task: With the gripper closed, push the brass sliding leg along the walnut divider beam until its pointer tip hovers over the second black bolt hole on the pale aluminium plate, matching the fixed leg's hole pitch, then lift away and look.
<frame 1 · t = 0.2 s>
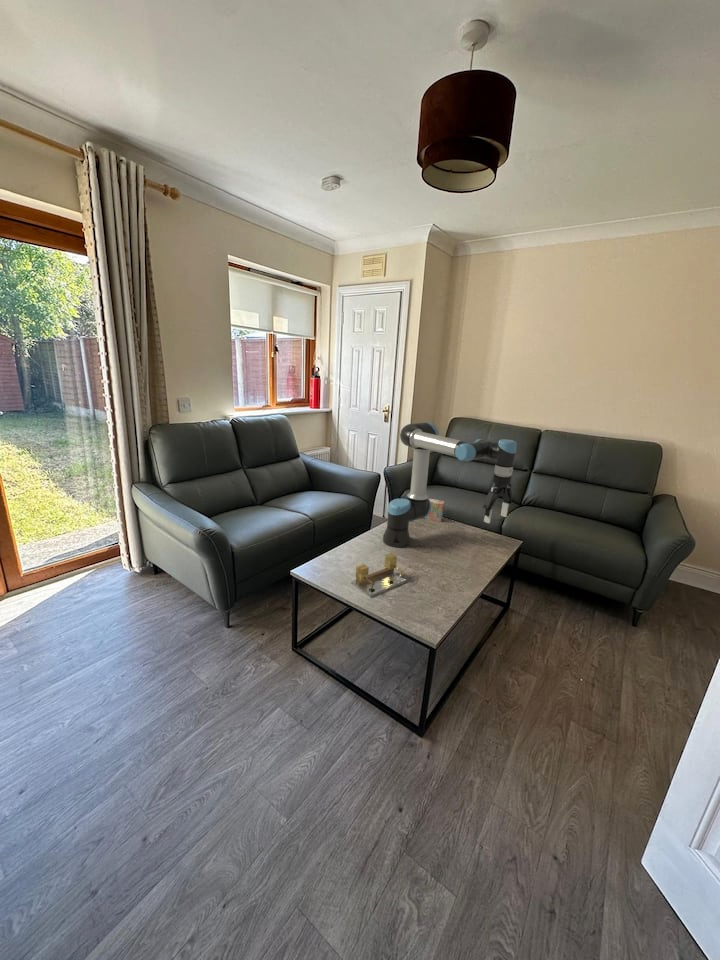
hand: (495, 519, 178), 28 cm above the table, fingers open, 13 cm apart
slider leg: (395, 565, 177), point 5 cm above the table, slide at 6.0 cm
hole plate: (378, 582, 173), on the table
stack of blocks: (425, 518, 250), on the table
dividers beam: (375, 579, 176), resting on hole plate
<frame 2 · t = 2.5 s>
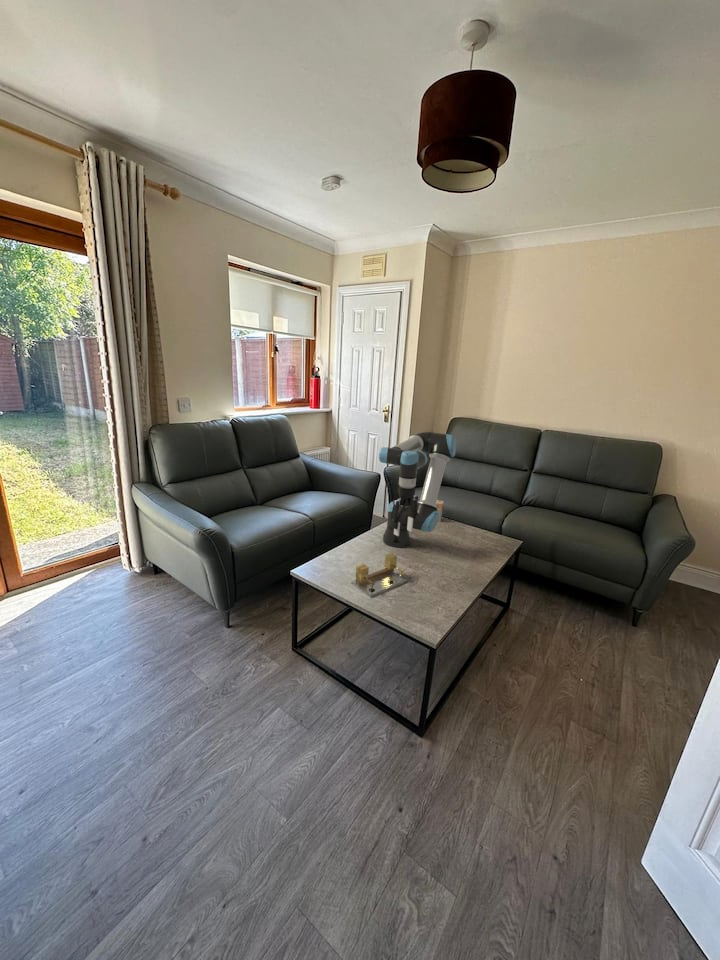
hand: (403, 532, 179), 19 cm above the table, fingers open, 8 cm apart
nothing on the table moved.
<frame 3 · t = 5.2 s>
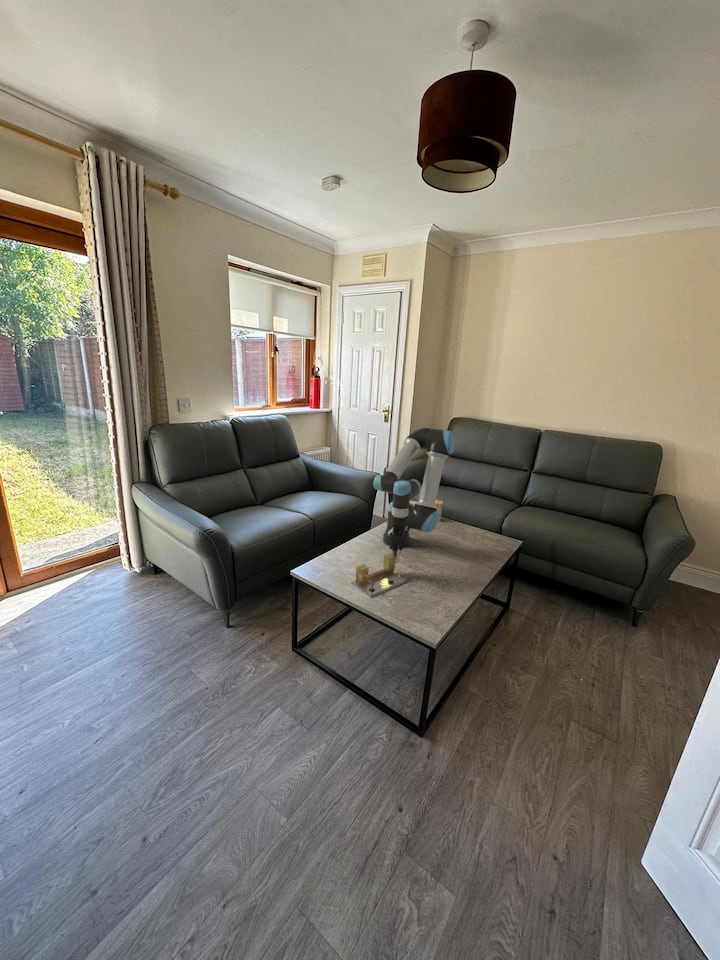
hand: (395, 562, 182), 5 cm above the table, fingers closed
slider leg: (393, 566, 177), point 5 cm above the table, slide at 5.2 cm, touching gripper
everything else where it was.
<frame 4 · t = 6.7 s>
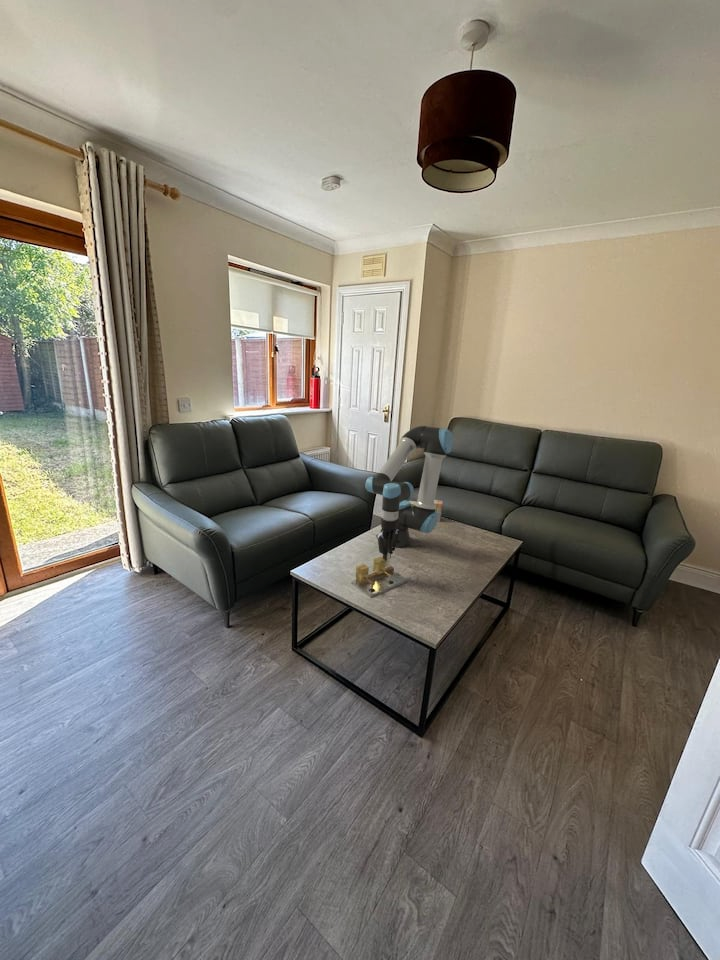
hand: (386, 565, 178), 5 cm above the table, fingers closed
slider leg: (383, 570, 173), point 5 cm above the table, slide at -1.0 cm, touching gripper
everything else where it was.
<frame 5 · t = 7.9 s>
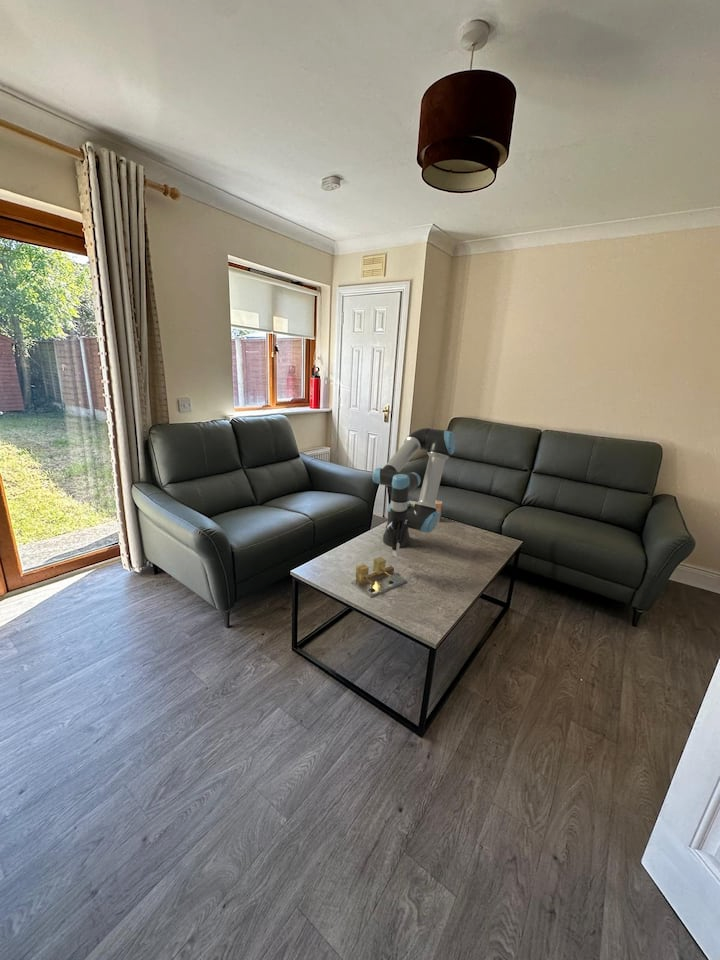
hand: (395, 555, 181), 8 cm above the table, fingers closed
slider leg: (383, 570, 173), point 5 cm above the table, slide at -1.0 cm
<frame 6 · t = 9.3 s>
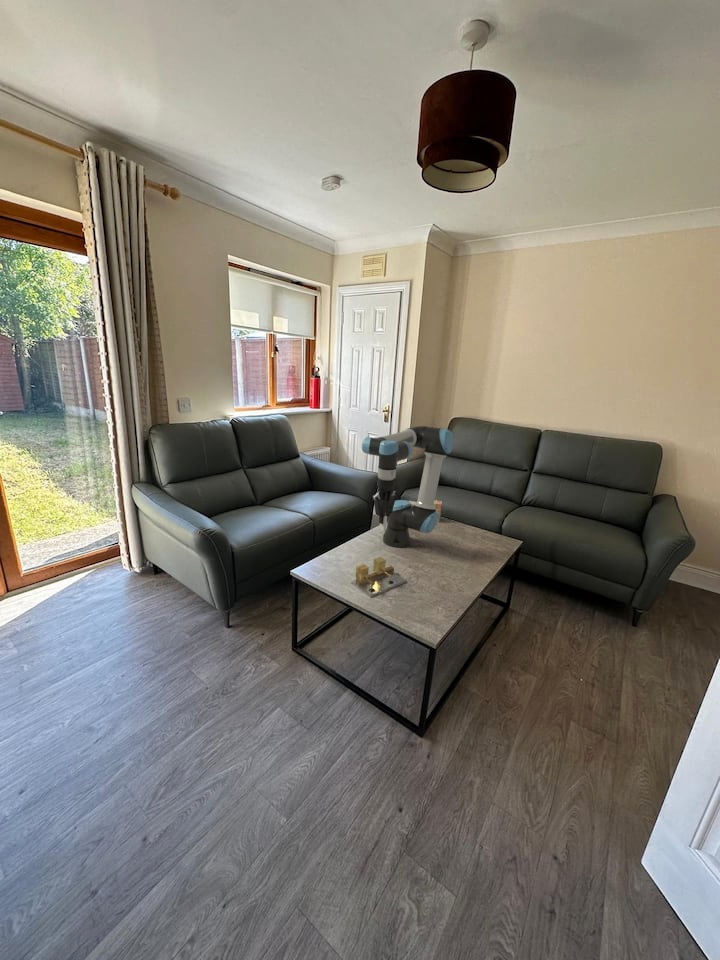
hand: (382, 529, 169), 24 cm above the table, fingers closed
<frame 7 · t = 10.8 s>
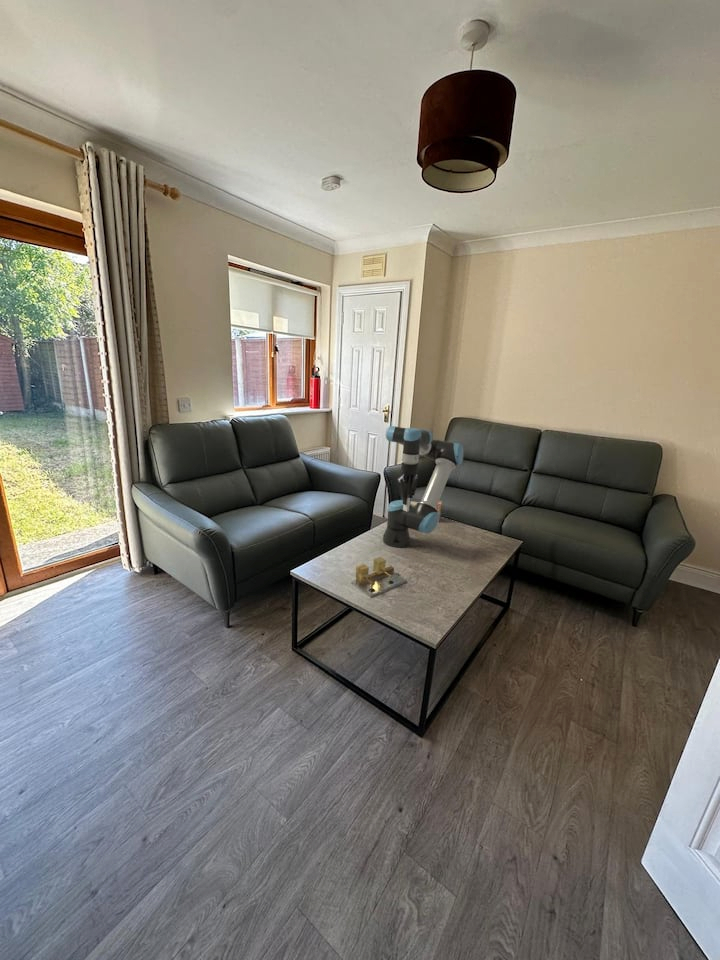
hand: (405, 510, 184), 27 cm above the table, fingers closed
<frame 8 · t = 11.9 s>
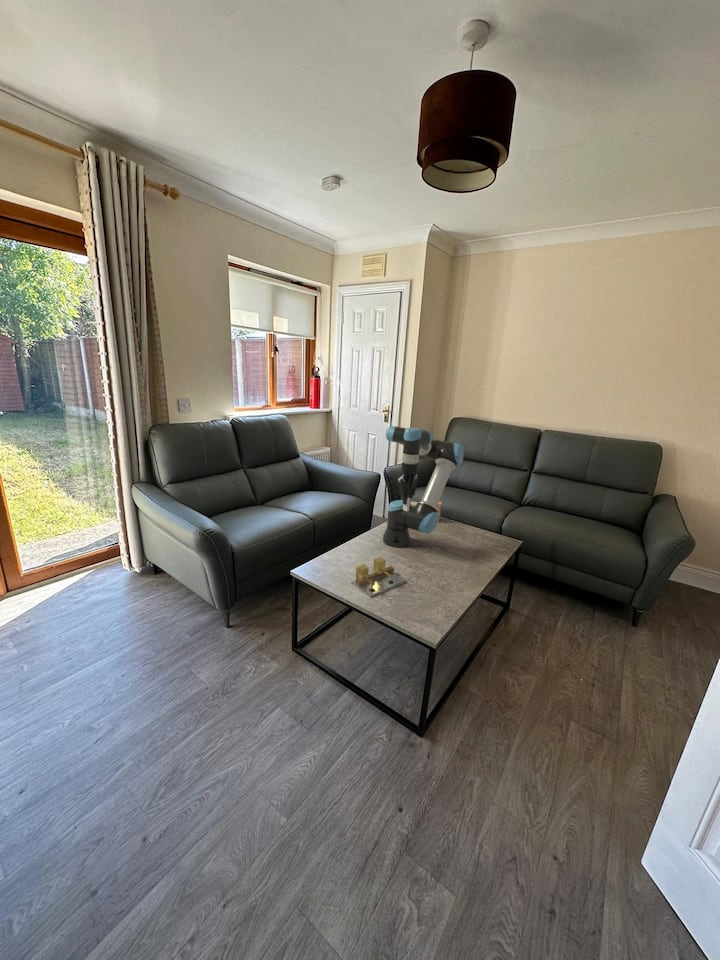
hand: (405, 510, 184), 27 cm above the table, fingers closed
at the end: slider leg slide at -1.0 cm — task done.
